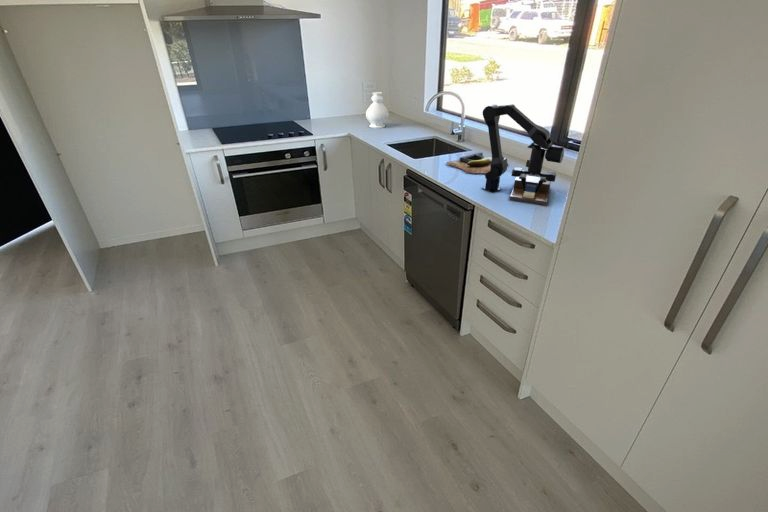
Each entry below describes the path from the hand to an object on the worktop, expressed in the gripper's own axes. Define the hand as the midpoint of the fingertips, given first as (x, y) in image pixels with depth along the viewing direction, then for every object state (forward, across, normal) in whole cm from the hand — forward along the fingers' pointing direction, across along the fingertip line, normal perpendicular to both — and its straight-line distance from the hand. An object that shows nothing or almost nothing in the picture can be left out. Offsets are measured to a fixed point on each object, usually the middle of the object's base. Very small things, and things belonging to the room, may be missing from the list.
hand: (529, 192), depth 184 cm
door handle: (+3, +33, -47) cm, 58 cm away
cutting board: (+1, +31, -41) cm, 52 cm away
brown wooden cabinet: (+3, 0, -5) cm, 6 cm away
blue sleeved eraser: (+1, 0, +1) cm, 1 cm away
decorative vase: (+3, +126, -110) cm, 168 cm away
